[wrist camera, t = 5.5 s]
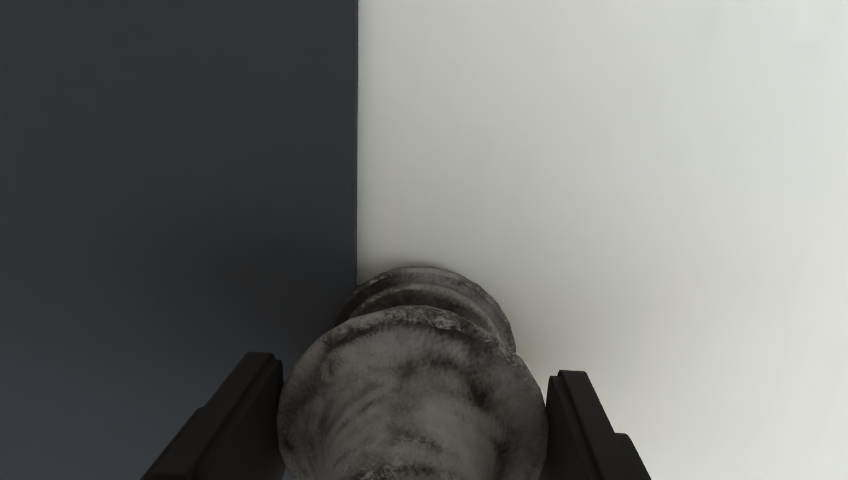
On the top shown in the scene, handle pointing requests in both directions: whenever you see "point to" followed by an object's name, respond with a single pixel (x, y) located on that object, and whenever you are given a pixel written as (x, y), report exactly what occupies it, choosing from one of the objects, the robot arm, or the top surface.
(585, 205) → the top surface
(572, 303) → the top surface
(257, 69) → the mat
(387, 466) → the salt shaker
